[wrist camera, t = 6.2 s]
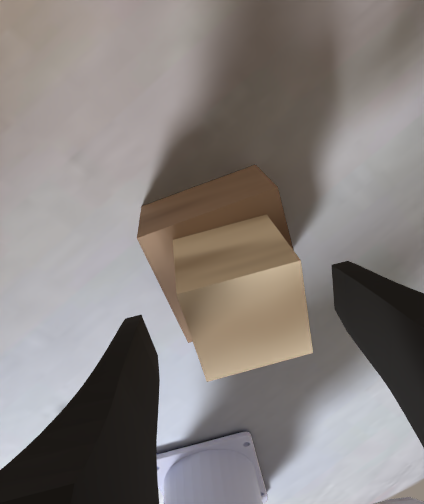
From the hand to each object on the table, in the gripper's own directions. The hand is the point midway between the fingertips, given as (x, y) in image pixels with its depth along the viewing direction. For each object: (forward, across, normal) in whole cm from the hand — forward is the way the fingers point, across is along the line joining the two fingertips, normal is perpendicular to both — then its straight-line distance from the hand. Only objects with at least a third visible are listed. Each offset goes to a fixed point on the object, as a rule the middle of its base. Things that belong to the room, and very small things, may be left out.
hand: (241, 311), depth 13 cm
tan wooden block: (+7, 0, 0) cm, 7 cm away
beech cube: (+3, 0, 0) cm, 3 cm away
